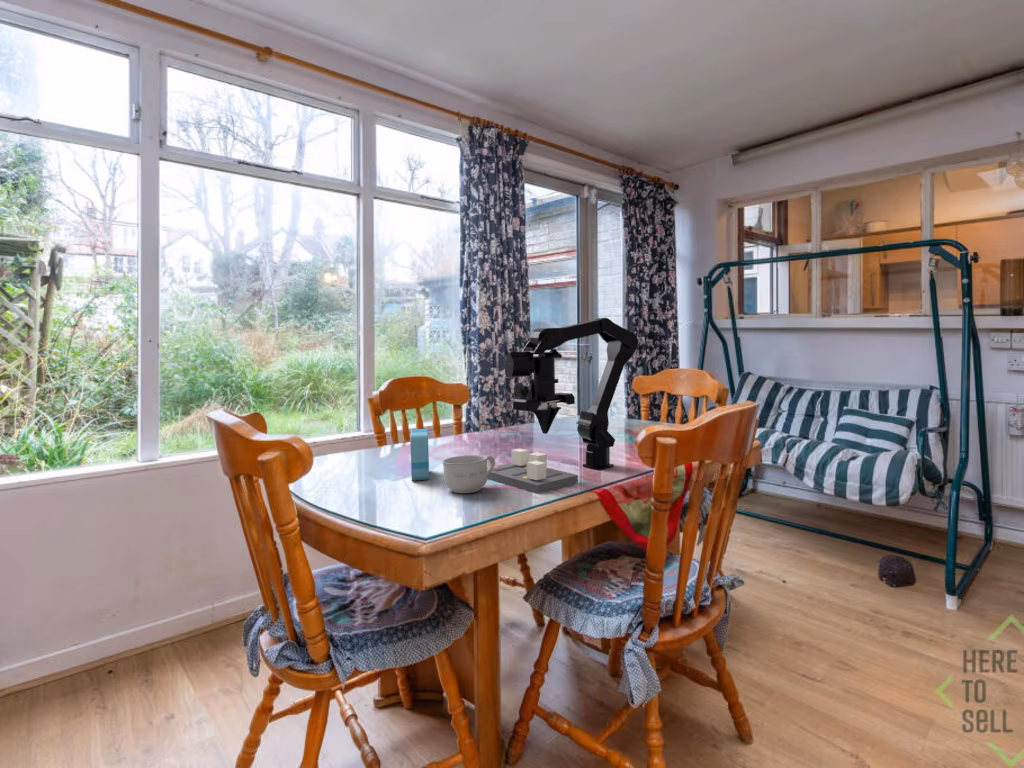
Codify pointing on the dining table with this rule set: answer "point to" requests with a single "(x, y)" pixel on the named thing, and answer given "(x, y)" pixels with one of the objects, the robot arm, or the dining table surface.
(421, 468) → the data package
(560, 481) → the switch panel
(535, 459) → the tab middle
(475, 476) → the teacup
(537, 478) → the tab
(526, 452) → the tab
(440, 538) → the dining table surface
